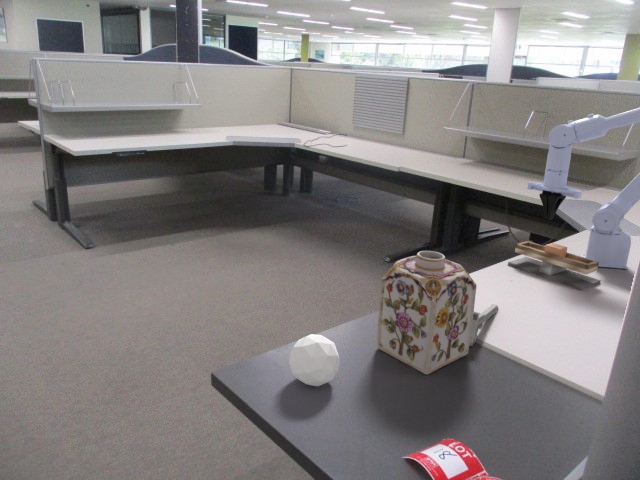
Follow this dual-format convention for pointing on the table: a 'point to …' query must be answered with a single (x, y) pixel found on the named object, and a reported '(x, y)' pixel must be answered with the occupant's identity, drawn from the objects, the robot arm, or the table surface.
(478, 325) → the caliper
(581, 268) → the balance beam
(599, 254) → the robot arm
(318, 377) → the ball
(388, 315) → the decorative jar
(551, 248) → the block
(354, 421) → the table surface
